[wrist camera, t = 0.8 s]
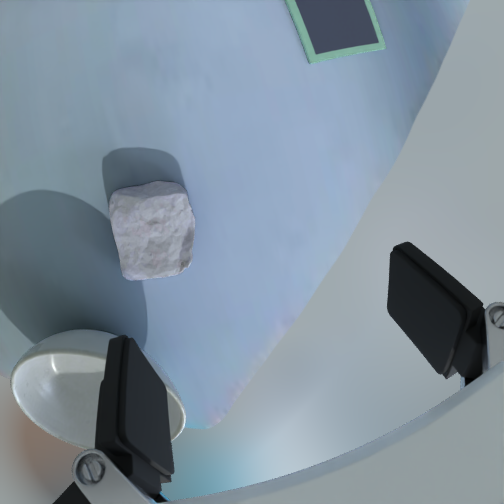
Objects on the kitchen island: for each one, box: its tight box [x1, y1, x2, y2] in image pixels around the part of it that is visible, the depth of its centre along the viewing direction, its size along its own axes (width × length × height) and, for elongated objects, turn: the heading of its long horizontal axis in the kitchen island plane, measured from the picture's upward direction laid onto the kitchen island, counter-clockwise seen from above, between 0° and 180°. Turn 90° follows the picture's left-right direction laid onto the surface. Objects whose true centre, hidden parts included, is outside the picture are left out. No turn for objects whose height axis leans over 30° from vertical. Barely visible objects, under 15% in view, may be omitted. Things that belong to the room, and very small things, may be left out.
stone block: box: [109, 181, 195, 281], centre depth 36 cm, size 12×5×10 cm
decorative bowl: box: [10, 329, 186, 449], centre depth 40 cm, size 27×27×12 cm
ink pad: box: [285, 0, 386, 64], centre depth 28 cm, size 14×12×1 cm
